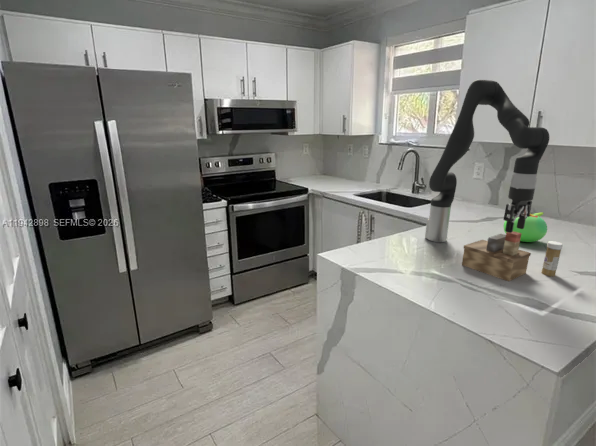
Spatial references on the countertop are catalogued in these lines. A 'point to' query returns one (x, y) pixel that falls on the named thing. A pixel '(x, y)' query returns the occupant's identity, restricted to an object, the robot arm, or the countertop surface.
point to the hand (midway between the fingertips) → (514, 230)
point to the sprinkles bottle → (551, 258)
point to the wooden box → (494, 265)
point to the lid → (495, 249)
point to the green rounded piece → (531, 228)
